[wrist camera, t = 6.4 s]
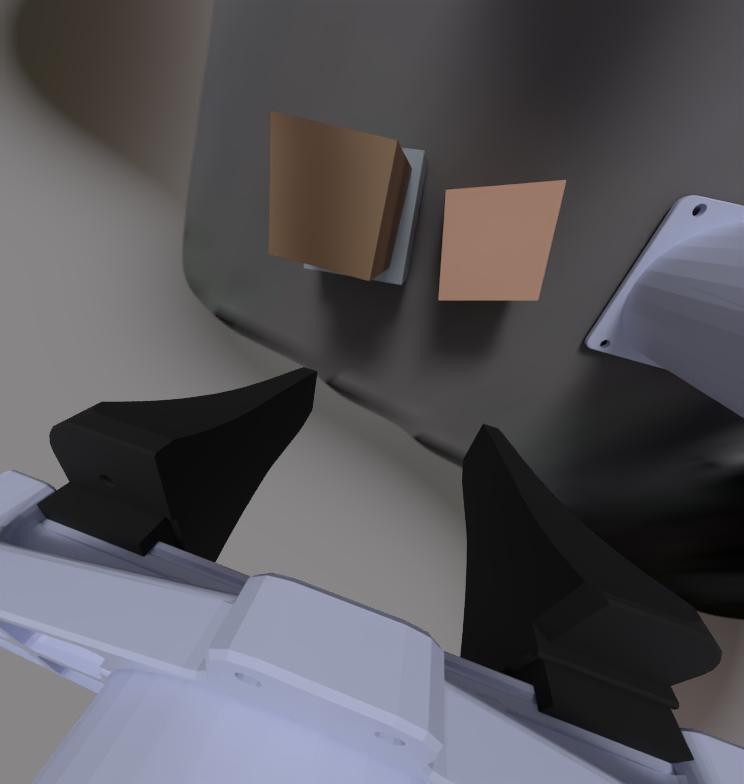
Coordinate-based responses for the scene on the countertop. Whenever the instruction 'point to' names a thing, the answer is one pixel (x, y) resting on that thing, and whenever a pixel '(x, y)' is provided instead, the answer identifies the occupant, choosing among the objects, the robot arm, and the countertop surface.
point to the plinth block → (403, 222)
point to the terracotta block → (498, 240)
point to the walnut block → (335, 196)
